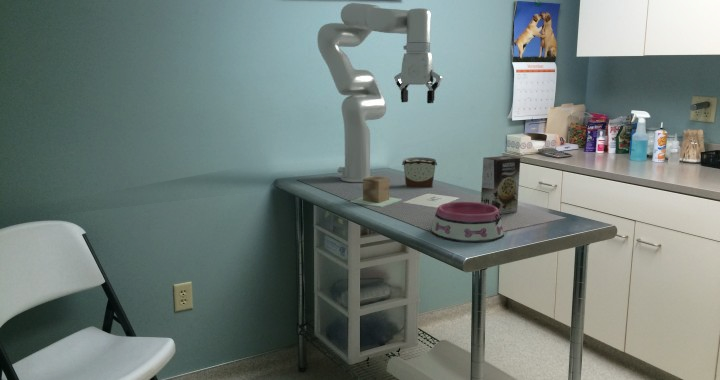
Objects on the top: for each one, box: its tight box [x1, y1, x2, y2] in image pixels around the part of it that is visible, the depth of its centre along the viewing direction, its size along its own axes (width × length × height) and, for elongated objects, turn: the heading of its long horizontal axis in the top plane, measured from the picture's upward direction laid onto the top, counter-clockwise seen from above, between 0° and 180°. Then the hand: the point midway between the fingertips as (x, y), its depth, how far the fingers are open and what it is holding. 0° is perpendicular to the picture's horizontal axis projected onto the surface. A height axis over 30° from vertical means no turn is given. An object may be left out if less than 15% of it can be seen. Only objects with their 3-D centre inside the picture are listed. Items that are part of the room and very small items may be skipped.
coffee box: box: [480, 155, 521, 215], centre depth 171 cm, size 9×6×16 cm
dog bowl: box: [430, 201, 505, 244], centre depth 151 cm, size 18×19×7 cm
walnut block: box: [362, 175, 390, 203], centre depth 185 cm, size 6×6×7 cm
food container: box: [401, 156, 438, 188], centre depth 209 cm, size 12×6×10 cm, turn 84°
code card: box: [402, 192, 460, 209], centre depth 187 cm, size 12×16×1 cm
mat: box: [349, 196, 403, 208], centre depth 186 cm, size 12×12×1 cm
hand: (417, 102), depth 192 cm, fingers open, 9 cm apart
